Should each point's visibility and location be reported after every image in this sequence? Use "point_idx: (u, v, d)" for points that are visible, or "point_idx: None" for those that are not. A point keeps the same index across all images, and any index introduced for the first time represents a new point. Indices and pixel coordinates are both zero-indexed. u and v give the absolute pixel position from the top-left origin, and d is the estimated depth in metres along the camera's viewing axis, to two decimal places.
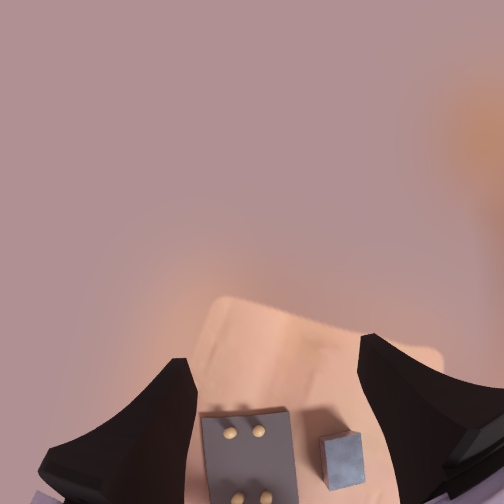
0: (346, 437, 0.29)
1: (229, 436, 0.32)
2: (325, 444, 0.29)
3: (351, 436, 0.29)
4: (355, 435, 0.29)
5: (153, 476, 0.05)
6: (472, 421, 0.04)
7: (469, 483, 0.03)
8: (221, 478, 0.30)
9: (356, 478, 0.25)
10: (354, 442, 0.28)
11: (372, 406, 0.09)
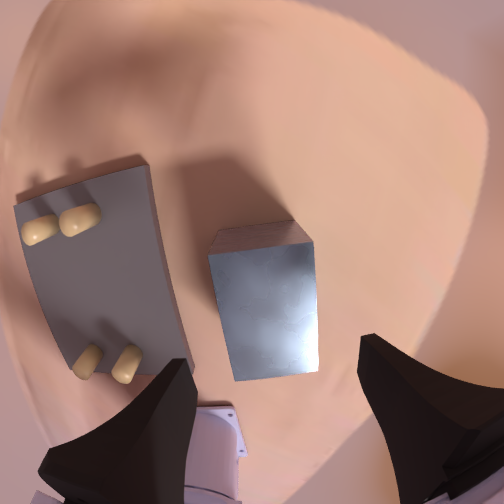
0: (271, 250, 0.13)
1: (29, 239, 0.14)
2: (211, 264, 0.13)
3: (286, 248, 0.13)
4: (298, 247, 0.13)
5: (153, 476, 0.05)
6: (471, 421, 0.04)
7: (469, 483, 0.03)
8: (61, 319, 0.19)
9: (297, 361, 0.15)
10: (295, 269, 0.13)
11: (372, 406, 0.09)
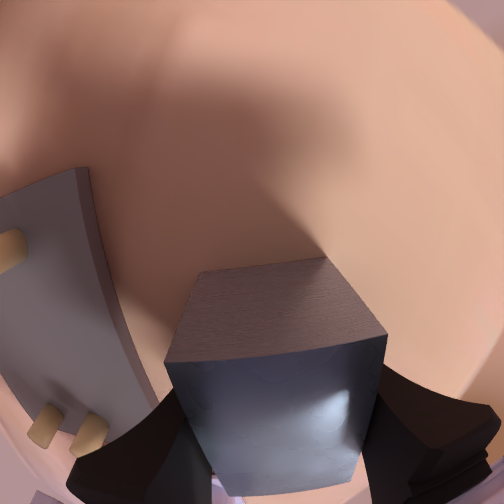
0: (301, 356, 0.06)
1: None
2: None
3: (333, 351, 0.06)
4: (357, 347, 0.06)
5: (187, 480, 0.05)
6: (436, 439, 0.04)
7: (437, 501, 0.03)
8: (11, 371, 0.12)
9: (323, 479, 0.08)
10: (344, 383, 0.06)
11: None
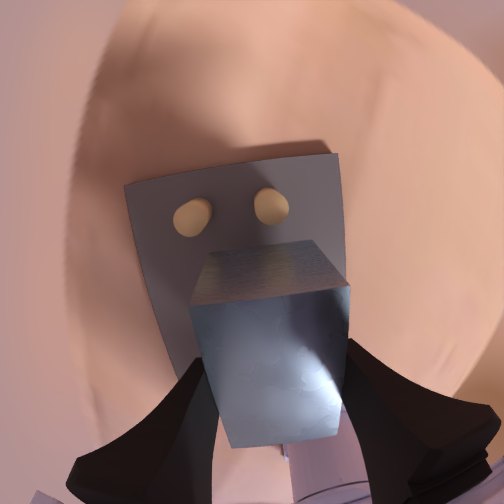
0: (286, 299, 0.08)
1: (189, 228, 0.13)
2: (194, 319, 0.09)
3: (309, 297, 0.08)
4: (327, 294, 0.08)
5: (187, 479, 0.05)
6: (436, 440, 0.04)
7: (437, 501, 0.03)
8: (188, 331, 0.19)
9: (312, 428, 0.10)
10: (320, 325, 0.09)
11: (348, 412, 0.09)
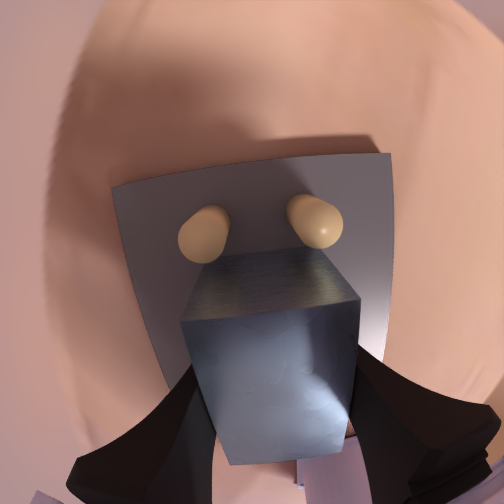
0: (290, 314, 0.07)
1: (201, 251, 0.09)
2: (187, 335, 0.08)
3: (316, 312, 0.07)
4: (336, 309, 0.07)
5: (187, 479, 0.05)
6: (436, 439, 0.04)
7: (437, 501, 0.03)
8: None
9: (316, 445, 0.09)
10: (328, 342, 0.08)
11: None
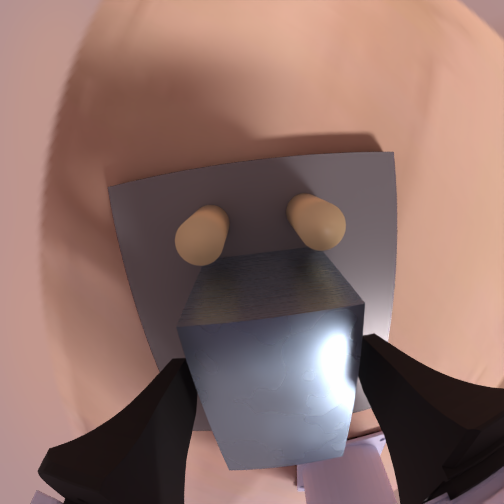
0: (291, 320, 0.07)
1: (199, 253, 0.09)
2: (184, 340, 0.07)
3: (318, 317, 0.07)
4: (338, 313, 0.07)
5: (153, 476, 0.05)
6: (471, 422, 0.04)
7: (469, 483, 0.03)
8: None
9: (317, 451, 0.09)
10: (330, 348, 0.07)
11: (372, 406, 0.09)
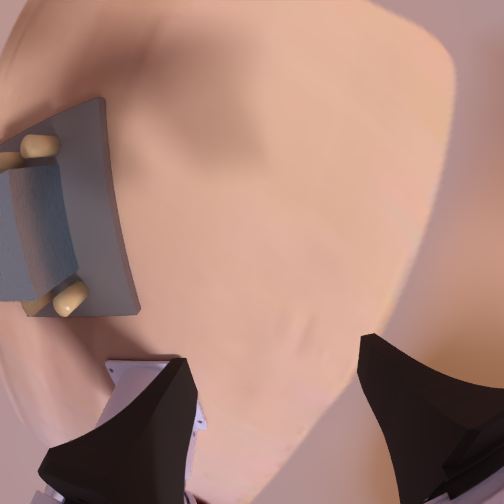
0: None
1: None
2: None
3: None
4: (2, 176, 0.11)
5: (153, 476, 0.05)
6: (471, 422, 0.04)
7: (469, 483, 0.03)
8: None
9: (21, 285, 0.13)
10: (2, 194, 0.11)
11: (372, 406, 0.09)
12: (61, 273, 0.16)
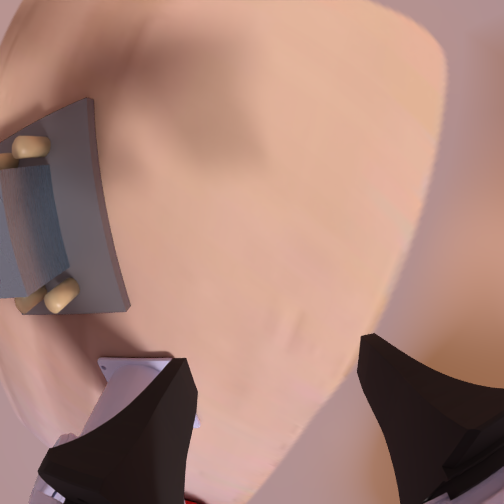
0: None
1: None
2: None
3: None
4: None
5: (153, 476, 0.05)
6: (471, 421, 0.04)
7: (469, 483, 0.03)
8: None
9: (12, 282, 0.13)
10: None
11: (372, 406, 0.09)
12: (51, 270, 0.16)
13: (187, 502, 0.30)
